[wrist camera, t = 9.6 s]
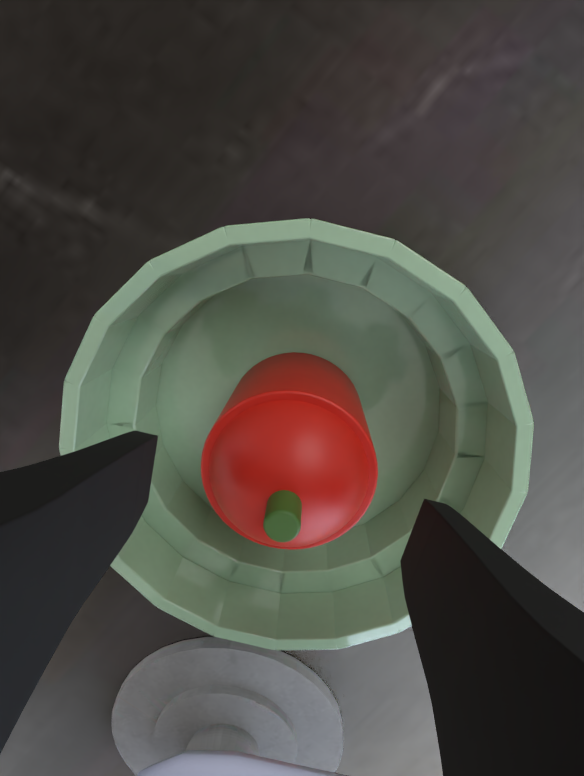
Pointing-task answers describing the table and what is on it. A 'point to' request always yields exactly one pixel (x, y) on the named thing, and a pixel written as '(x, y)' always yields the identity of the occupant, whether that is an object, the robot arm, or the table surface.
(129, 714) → the mate gourd
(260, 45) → the table surface
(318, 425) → the pepper
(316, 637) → the bowl
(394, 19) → the table surface
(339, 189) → the table surface
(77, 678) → the table surface
